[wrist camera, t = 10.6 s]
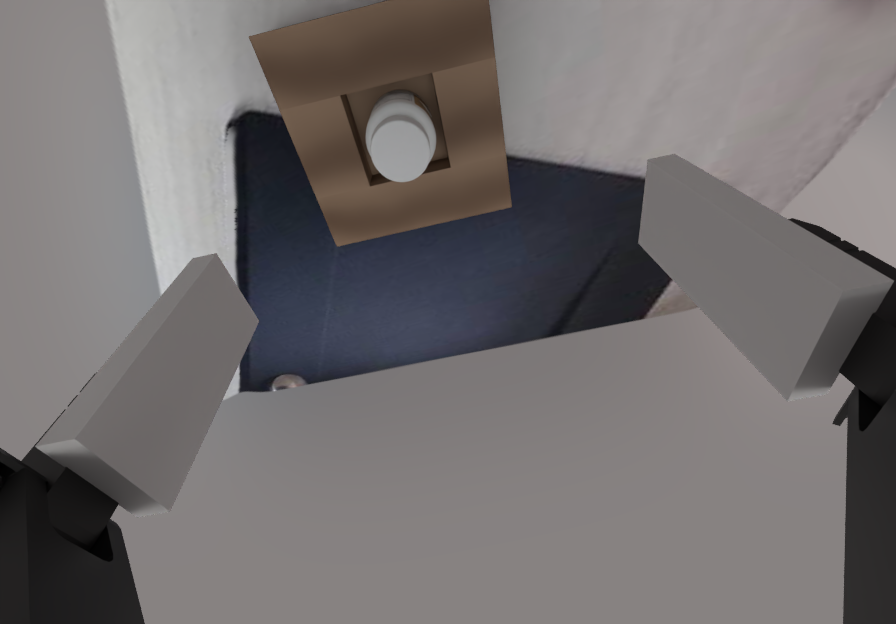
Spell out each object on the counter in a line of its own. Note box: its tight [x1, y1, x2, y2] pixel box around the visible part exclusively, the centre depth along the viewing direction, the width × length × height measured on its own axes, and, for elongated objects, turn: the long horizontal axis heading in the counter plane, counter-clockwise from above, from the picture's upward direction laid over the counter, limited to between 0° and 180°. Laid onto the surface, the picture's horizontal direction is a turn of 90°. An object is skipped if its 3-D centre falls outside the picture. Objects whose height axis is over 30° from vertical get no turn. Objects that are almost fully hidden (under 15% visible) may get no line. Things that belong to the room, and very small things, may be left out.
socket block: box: [249, 0, 512, 246], centre depth 29 cm, size 14×14×5 cm
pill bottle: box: [366, 90, 436, 182], centre depth 26 cm, size 4×4×8 cm
